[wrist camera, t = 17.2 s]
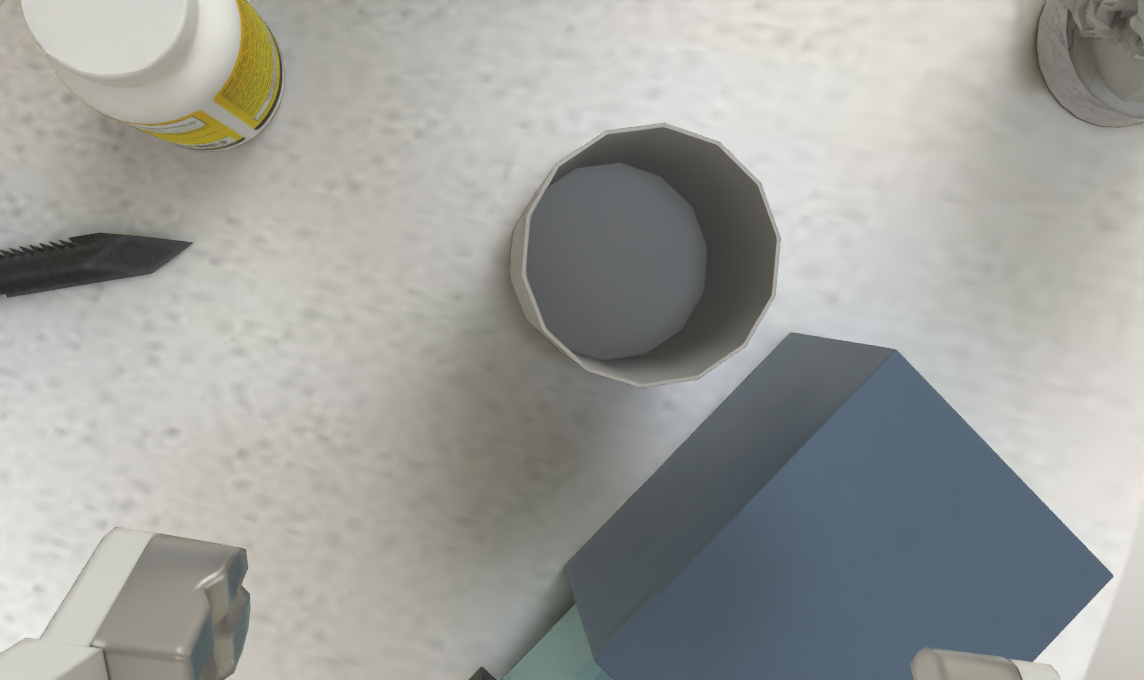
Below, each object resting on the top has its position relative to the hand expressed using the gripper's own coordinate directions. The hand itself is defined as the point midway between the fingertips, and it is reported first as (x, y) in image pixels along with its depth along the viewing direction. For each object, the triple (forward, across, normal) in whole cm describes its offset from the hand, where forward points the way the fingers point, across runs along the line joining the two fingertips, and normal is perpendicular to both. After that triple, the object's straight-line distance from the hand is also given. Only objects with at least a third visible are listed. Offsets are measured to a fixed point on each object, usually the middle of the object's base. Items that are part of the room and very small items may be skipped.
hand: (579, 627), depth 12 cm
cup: (+28, -1, +11) cm, 30 cm away
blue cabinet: (+23, -10, +20) cm, 32 cm away
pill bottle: (+30, +16, +6) cm, 34 cm away
